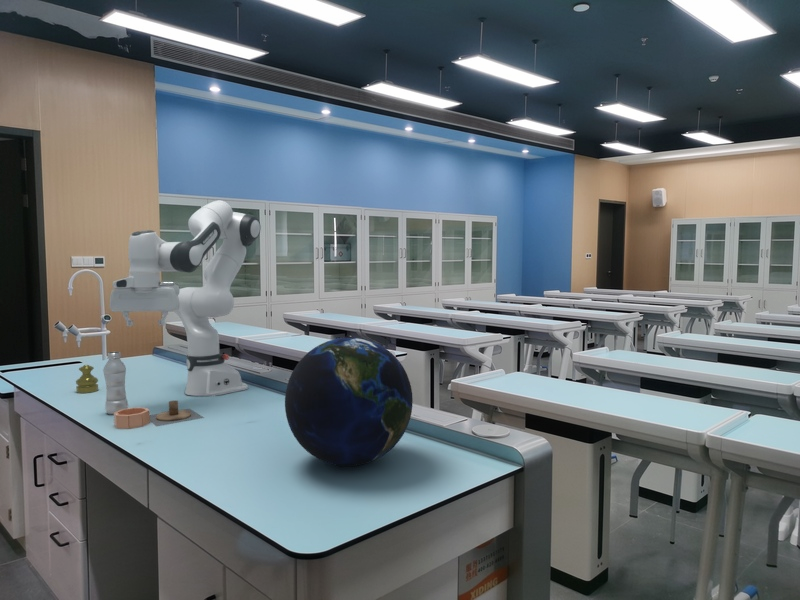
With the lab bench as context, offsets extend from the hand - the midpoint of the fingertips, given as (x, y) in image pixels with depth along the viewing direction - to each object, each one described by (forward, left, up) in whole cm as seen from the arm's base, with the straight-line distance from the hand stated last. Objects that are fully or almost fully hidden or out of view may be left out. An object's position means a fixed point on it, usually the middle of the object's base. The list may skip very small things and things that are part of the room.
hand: (145, 325), depth 181 cm
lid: (-4, +11, -28) cm, 30 cm away
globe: (-26, +78, -29) cm, 87 cm away
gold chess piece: (+10, -50, -29) cm, 59 cm away
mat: (-4, +11, -28) cm, 31 cm away
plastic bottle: (+8, -7, -29) cm, 30 cm away
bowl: (+8, +11, -28) cm, 31 cm away
